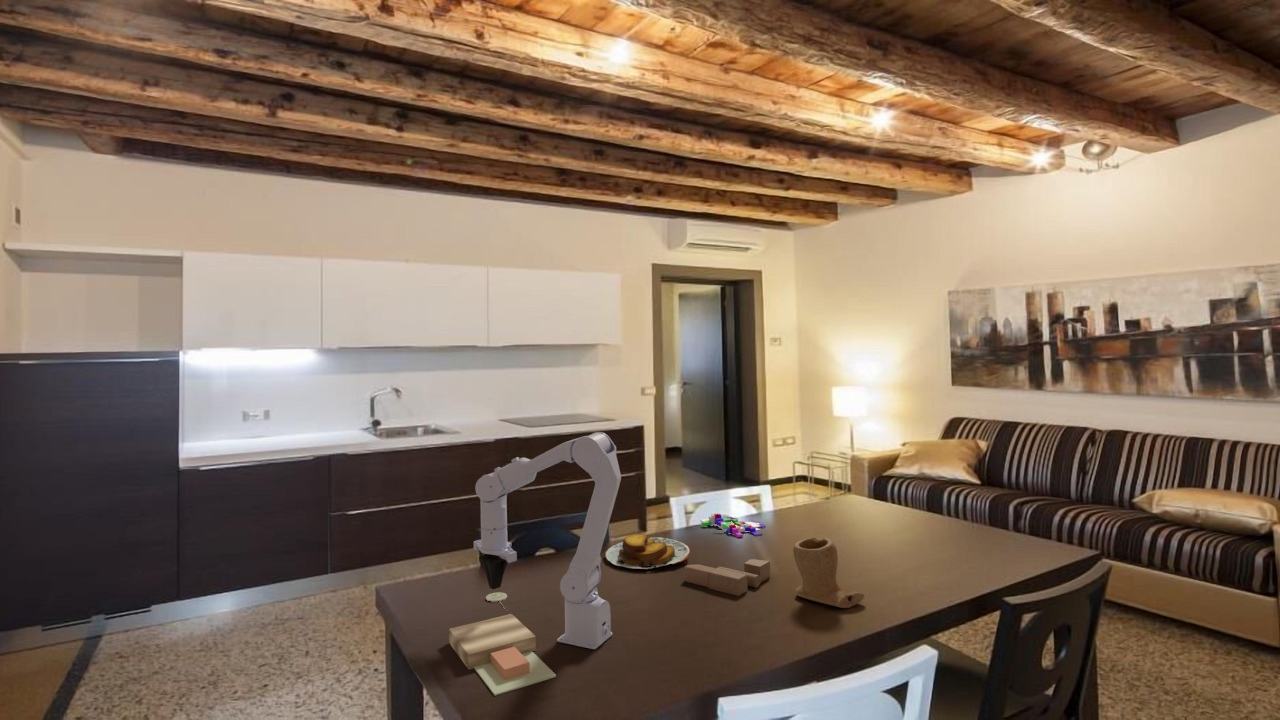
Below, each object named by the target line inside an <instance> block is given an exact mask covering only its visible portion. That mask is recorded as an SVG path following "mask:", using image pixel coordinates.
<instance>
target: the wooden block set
mask: <svg viewBox="0 0 1280 720" xmlns="http://www.w3.org/2000/svg"><path fill="white" fill-rule="evenodd" d="M743 566H744V571H741V570H737V569H733V568H728V567H724V566H717V567H712V566H707V565H703V564H699V563H697V564H688V565H685V566H684V567H683V568H684V569H683V570H684V572H683V573H684V578H683V579H684V581H685V583H689V584H693V585H698V586H702V587H706V588H708V589H710V590H714V591H717V592H722V593H726V594H729V595H733V596H737V597H740V596H742V595H744V594H745V593H747V592H748V587H751V588H754V589H758V588H759V587H760V584H761V583H763V582H765V581H766V580H768V579H771V561H770V560H761V559H755V558H750V559H749V560H747V561H746V562H744V563H743Z"/></svg>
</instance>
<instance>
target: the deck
mask: <svg viewBox="0 0 1280 720" xmlns="http://www.w3.org/2000/svg"><path fill="white" fill-rule="evenodd" d="M448 643H449V645H450V646H451V648H452V649H453V650H454V652H455V653H456V654H457V656H458V657H459V659H460V660H461V661H462V663H463V664H464V665H465V667H466V668H467V669H468V670H469V671H470V670H475V669H474V667H476V666H480V665H483V664H487V663H490V653H492V652H496V651H500V650H503V649H507V648H511V647H515V648H516V649H517V650H518V651H519V652H520V653H521V654H522V653H526V652H529V651H532V652H533V651H534V652H537V637H536V635H535V634H534V633H533V632H532V631H531V630H529V629H528V628H527V627H526V626H525V625H524V624H523V623H522V622H521V621H520V620H519V619H518V618H517V617H516V616H515V615H514V614H513V613H509V615H508V614H506V615H501V616H498V617H497V616H496V617H491V618H489V619H485V620H480V621H476V622H472V623H469V624H464V625H463V624H462V625H460V626H455V627H452V628H448ZM534 652H533V653H534Z"/></svg>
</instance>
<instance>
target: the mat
mask: <svg viewBox="0 0 1280 720" xmlns="http://www.w3.org/2000/svg"><path fill="white" fill-rule="evenodd" d="M522 655H523V656H524V657H525V658H526V659H527V660H528V661H529V662H530V673H527V674H524V675H521V676H517V677H514V678H511V679H507V680H504V679H503V678H502V677H501V675H500V674H499V673H498V672H497V670H496V669H495V668H494V667H493V666H492V664H491V663H487V664H483V665H480V666H476V667H474V669H473V670H475V671H476V673H477V674H478V675H479V677H480V678H481V679H482V681H483V683H484V684H485V685H486V686H487V687H488V688H489V690H490V691H491V693H492V694H493V696H494V697H495V696H499V695H502V694H505V693H508V692H512V691H515V690H518V689H521V688H525V687H528V686H531V685H535V684H538V683H541V682H544V681H547V680H550V679H553V678H556V677H557V674H556V673H555V672H553V670H552V669H551V668H550V667H549V666H548V665H547V664H546V663H545V662H544V661H543V660H542V659H541V658H540V657H539V656H538V655H536V654H535V652H532V651H529V652H526V653H522Z"/></svg>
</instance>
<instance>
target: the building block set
mask: <svg viewBox="0 0 1280 720" xmlns="http://www.w3.org/2000/svg"><path fill="white" fill-rule="evenodd" d="M699 521H700V525H703V526H707V525H712V524H717V525H719V526H720V527H722V528H723V529H727V532H728V533H732V534H734V535H735V536H737V537H743V538H744V534H743V533H744V532H745V531H750V532H751V533H753V534H755V535H758V534H762V535H763V533H761V532H760V531H756V530H761V528H755V527H767V526H766V524H765V523H761V522H759V521H755V520H749V521H750V522H749V521H743V520H740V521H739V518H736V517H732V516H727V517H726V518H722V514H721V513H713V514H712V513H711V514H710V515H708V518H706V519H705V518H702V519H699ZM731 521H732V522H733V523H734V525H730V524H728V523H726V522H731ZM744 524H748V525H744ZM735 525H737V526H735ZM764 525H765V526H764ZM707 527H708V526H707ZM727 532H726V533H727ZM739 532H740V533H739ZM735 536H734V537H735ZM737 537H736V538H737Z"/></svg>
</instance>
